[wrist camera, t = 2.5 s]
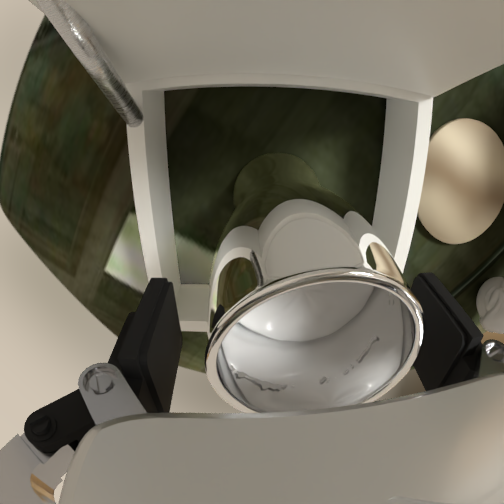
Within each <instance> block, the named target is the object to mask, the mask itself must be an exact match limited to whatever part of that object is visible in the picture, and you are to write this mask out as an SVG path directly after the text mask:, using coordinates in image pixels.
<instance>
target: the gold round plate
mask: <svg viewBox="0 0 504 504" xmlns="http://www.w3.org/2000/svg"><path fill="white" fill-rule="evenodd" d="M503 203H504V146H503V144H502V142H501V140H500V138H499V137H498V135H497V134H496V133H495V132H494V131H493V130H492V129H491V128H490V127H489V126H487V125H486V124H484V123H482V122H480V121H477V120H473V119H469V118H460V119H455V120H452V121H449V122H447V123H445V124H444V125H442V126H441V127H440V128H438V129H437V130H436V131H435V132H434V133H433V134H432V135H431V137H430V138H429V146H428V154H427V161H426V168H425V175H424V181H423V186H422V192H421V197H420V203H419V208H418V213H417V215H418V217H419V219H420V221H421V223H422V225H423V226H424V227H425V229H426V230H427V231H428V232H429V233H430V234H431V235H432V236H434V237H435V238H436V239H438V240H440V241H442V242H444V243H448V244H461V243H465V242H468V241H471V240H473V239H475V238H476V237H478V236H479V235H481V234H482V233H483V232H484V231H485V230H486V229H487V228H488V227H489V226H490V225H491V224H492V223H493V221H494V220H495V219H496V217H497V215H498V214H499V212H500V210H501V208H502V205H503Z"/></svg>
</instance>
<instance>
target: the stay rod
mask: <svg viewBox="0 0 504 504" xmlns="http://www.w3.org/2000/svg"><path fill="white" fill-rule="evenodd" d="M36 1H37V3H38V5H39V6H40V8H41V9H42V10H43V12H44V13H45V15H46V16H47V17H48V19H49V20H50V22H51V23H52V24H53V26H54V27H55V28H56V30H57V31H58V33H59V34H60V35H61V37H62V38H63V39H64V41H65V42H66V44H67V45H68V46H69V48H70V49H71V50H72V52H73V53H74V54H75V56H76V57H77V59H78V60H79V61H80V63H81V64H82V65H83V67H84V68H85V69H86V71H87V72H88V73H89V75H90V76H91V77H92V79H93V80H94V81H95V83H96V84H97V85H98V87H99V88H100V89H101V91H102V92H103V93H104V95H105V96H106V97H107V99H108V100H109V101H110V103H111V104H112V105H113V107H114V108H115V109H116V110H117V112H118V113H119V114H120V116H121V117H122V118H123V120H124V121H125V122H126V124H127V125H128V126H129V127H132V128H136V127H139V126H140V125H141V124H142V122H143V113H142V112H141V110H140V108H139V107H138V105H137V104H136V102H135V100H134V99H133V97H132V96H131V94H130V92H129V91H128V89H127V87H126V86H125V84H124V83H123V81H122V79H121V78H120V76H119V74H118V73H117V71H116V69H115V68H114V66H113V65H112V63H111V61H110V60H109V58H108V56H107V55H106V53H105V51H104V50H103V48H102V46H101V45H100V43H99V41H98V40H97V38H96V36H95V35H94V33H93V31H92V30H91V28H90V27H89V25H88V24H87V23H86V21H85V20H84V19H83V18H82V17H81V16H80V15H79V14H78V13H77V12H76V11H75V10H74V9H73V8H72V7H71V6H70V5H68V4H67V3H66V2H65V1H63V0H36Z"/></svg>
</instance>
